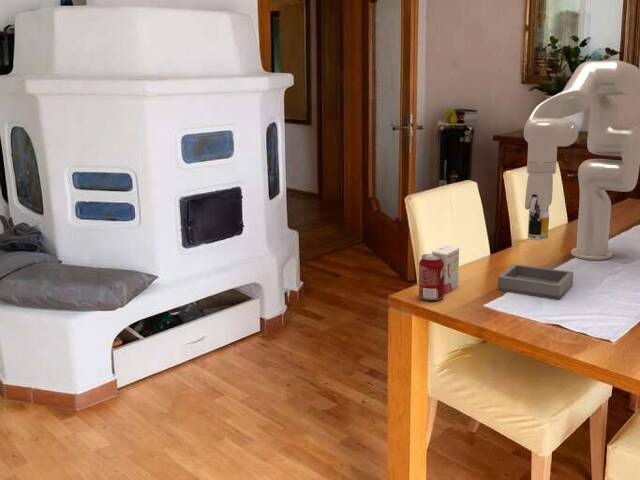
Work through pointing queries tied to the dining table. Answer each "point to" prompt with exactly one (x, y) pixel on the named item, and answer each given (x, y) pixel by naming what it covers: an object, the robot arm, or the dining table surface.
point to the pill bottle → (543, 227)
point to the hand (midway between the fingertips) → (538, 231)
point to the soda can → (431, 277)
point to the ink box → (449, 266)
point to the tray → (536, 281)
